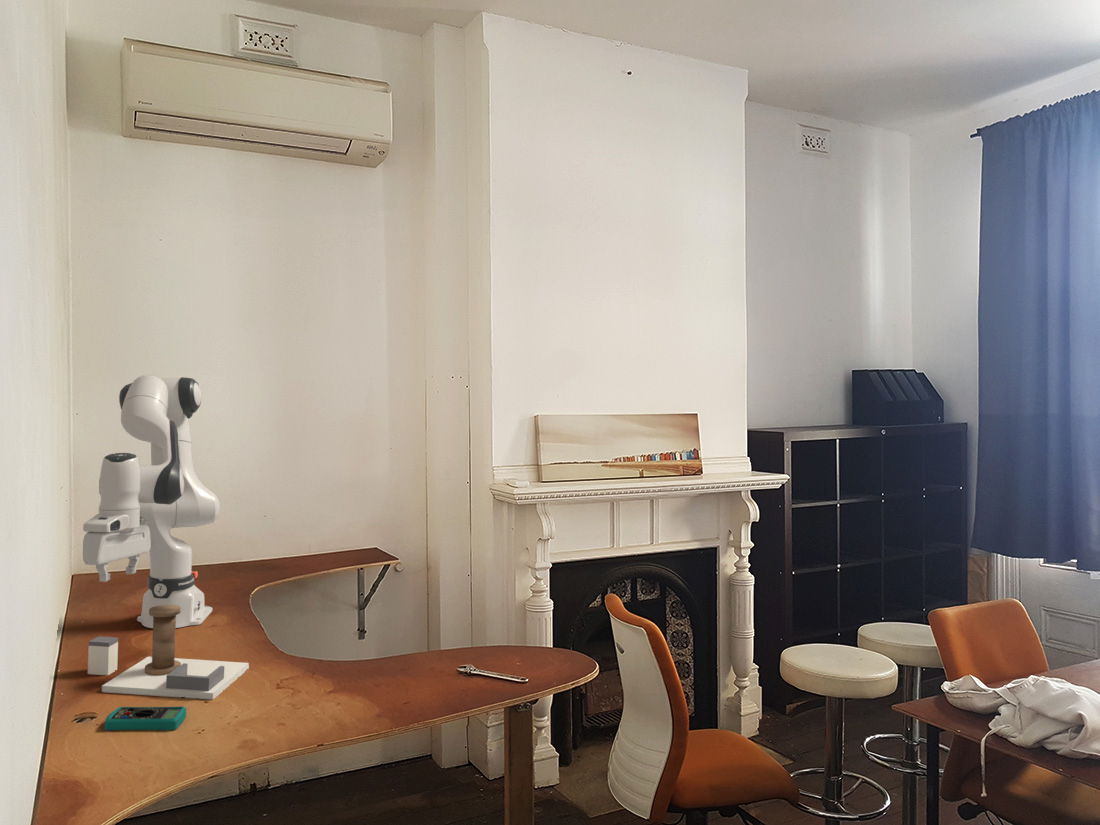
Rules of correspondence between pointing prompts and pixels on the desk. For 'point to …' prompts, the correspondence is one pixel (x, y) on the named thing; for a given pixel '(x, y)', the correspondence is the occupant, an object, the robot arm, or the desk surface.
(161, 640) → the bobbin
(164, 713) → the digital multimeter
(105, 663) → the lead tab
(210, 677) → the board
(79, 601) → the desk surface
